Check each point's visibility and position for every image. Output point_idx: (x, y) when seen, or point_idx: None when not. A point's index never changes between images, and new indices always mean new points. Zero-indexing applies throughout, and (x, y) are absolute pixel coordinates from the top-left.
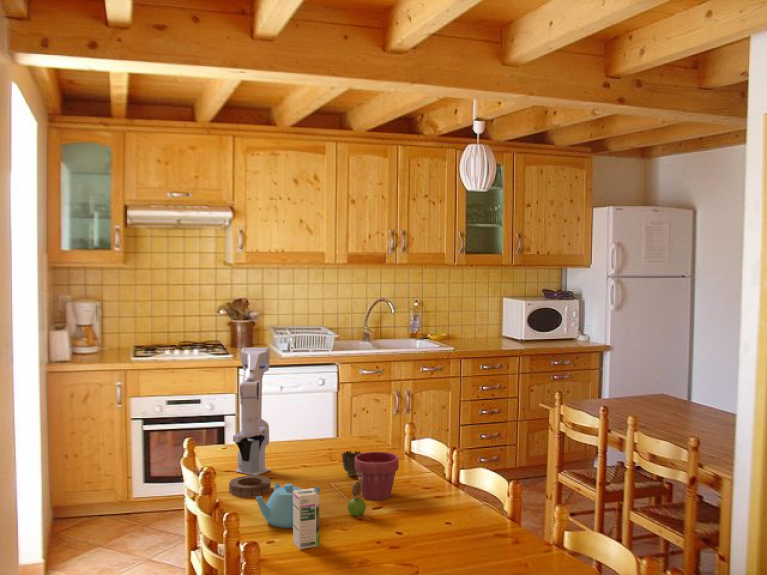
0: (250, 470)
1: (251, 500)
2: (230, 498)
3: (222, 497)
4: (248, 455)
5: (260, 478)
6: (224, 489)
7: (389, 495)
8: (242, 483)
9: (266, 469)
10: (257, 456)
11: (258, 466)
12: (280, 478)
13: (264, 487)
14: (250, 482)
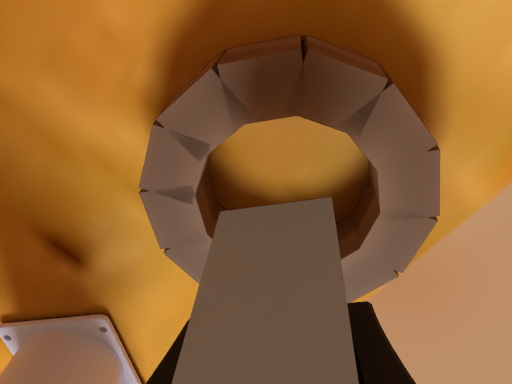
0: (334, 220)
1: (436, 5)
2: (480, 150)
3: (490, 199)
4: (378, 350)
5: (189, 201)
6: None
7: None
8: None
9: (18, 336)
10: (221, 308)
11: (222, 234)
12: (12, 205)
13: (275, 50)
14: None
